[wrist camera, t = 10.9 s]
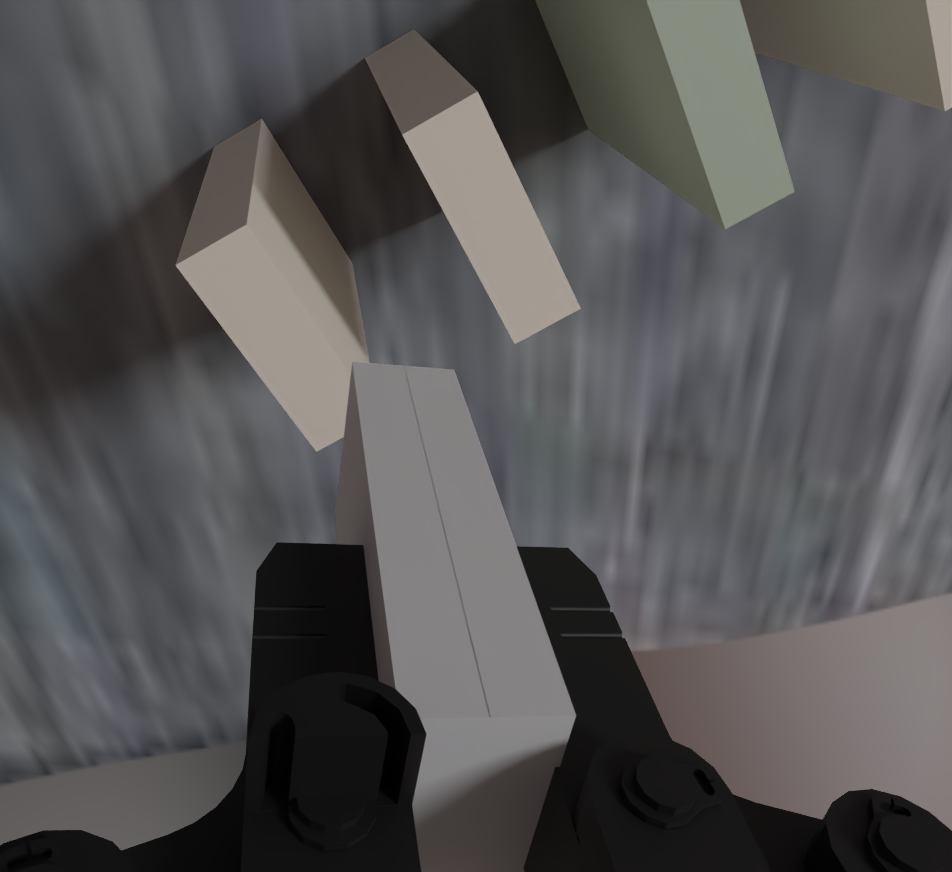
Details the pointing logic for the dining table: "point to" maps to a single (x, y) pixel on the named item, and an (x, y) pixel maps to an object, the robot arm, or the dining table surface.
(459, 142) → the domino
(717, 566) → the dining table surface
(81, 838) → the robot arm
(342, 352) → the domino
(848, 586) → the dining table surface
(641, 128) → the domino
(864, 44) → the domino
